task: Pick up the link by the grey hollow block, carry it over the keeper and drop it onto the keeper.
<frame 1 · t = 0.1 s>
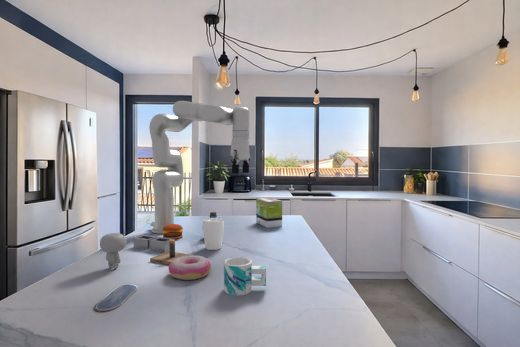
hand: (240, 173, 145), 31 cm above the worktop, fingers open, 9 cm apart
cup: (213, 248, 135), on the worktop
mug: (245, 290, 93), on the worktop
keeper: (172, 259, 119), on the worktop
donut: (190, 275, 105), on the worktop
hamburger: (172, 238, 152), on the worktop
grey hollow block: (145, 246, 137), on the worktop
figurine: (113, 268, 110), on the worktop
perfume bottle: (213, 237, 153), on the worktop
link: (162, 249, 133), on the worktop
tea box: (268, 225, 183), on the worktop
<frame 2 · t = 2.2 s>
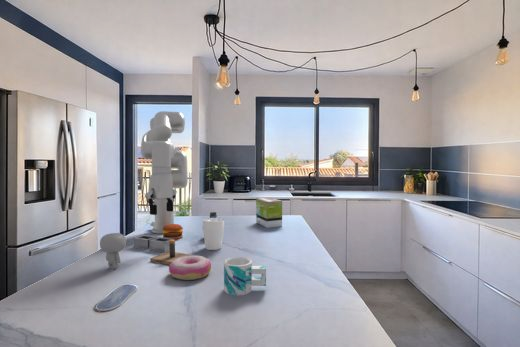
hand: (161, 212, 132), 15 cm above the worktop, fingers open, 9 cm apart
nothing on the worktop moved.
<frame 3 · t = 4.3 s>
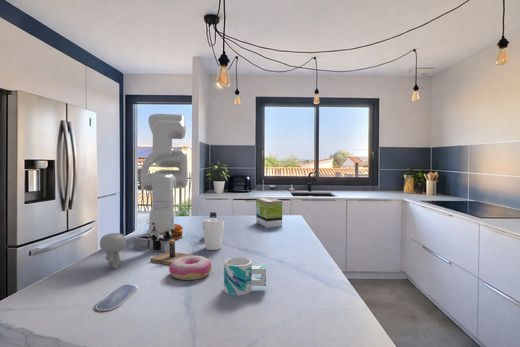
hand: (162, 247, 133), 1 cm above the worktop, fingers closed on link, 6 cm apart
link: (162, 249, 133), on the worktop, touching gripper
everything else where it was.
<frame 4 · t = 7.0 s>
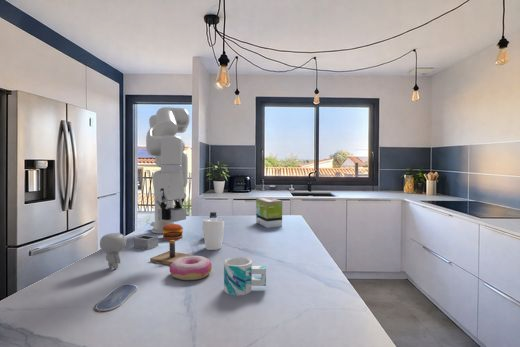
hand: (172, 217, 118), 16 cm above the worktop, fingers closed on link, 6 cm apart
link: (172, 219, 118), point 15 cm above the worktop, touching gripper
everything else where it was.
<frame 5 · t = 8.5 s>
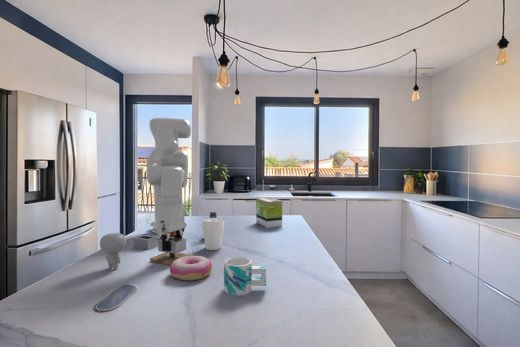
hand: (172, 248, 119), 4 cm above the worktop, fingers closed on link, 6 cm apart
link: (172, 250, 119), point 4 cm above the worktop, touching gripper
everything else where it was.
when the fingers open (3 cm above the worktop, at t = 9.5 s): link drops 1 cm, resting on keeper.
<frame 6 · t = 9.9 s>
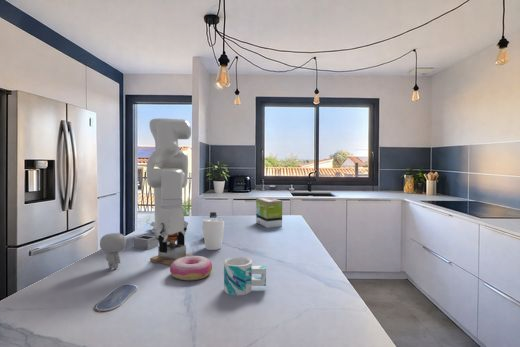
hand: (172, 248, 119), 4 cm above the worktop, fingers open, 9 cm apart
link: (172, 256, 119), point 1 cm above the worktop, touching keeper
everything else where it was.
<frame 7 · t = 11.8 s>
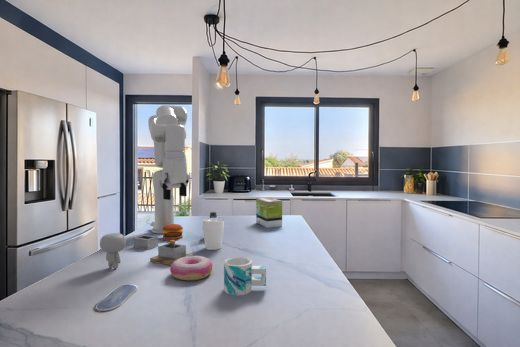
hand: (175, 197, 130), 22 cm above the worktop, fingers open, 9 cm apart
nothing on the worktop moved.
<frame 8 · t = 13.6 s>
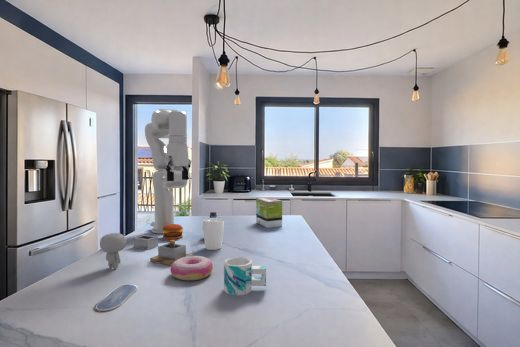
hand: (178, 180, 138), 28 cm above the worktop, fingers open, 9 cm apart
nothing on the worktop moved.
at the end: link 0.0 cm off-centre on the keeper, point 1.2 cm above the keeper's base; link tilted 0°; the gripper is holding nothing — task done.
